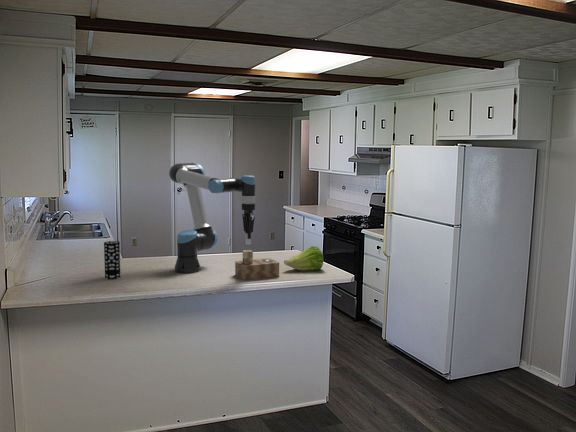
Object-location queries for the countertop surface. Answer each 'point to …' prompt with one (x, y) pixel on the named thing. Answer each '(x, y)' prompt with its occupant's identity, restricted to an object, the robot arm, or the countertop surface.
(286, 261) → the lettuce
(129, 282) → the countertop surface
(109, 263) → the white-spotted black cylinder
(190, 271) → the robot arm
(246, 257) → the oak peg
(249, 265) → the socket block
